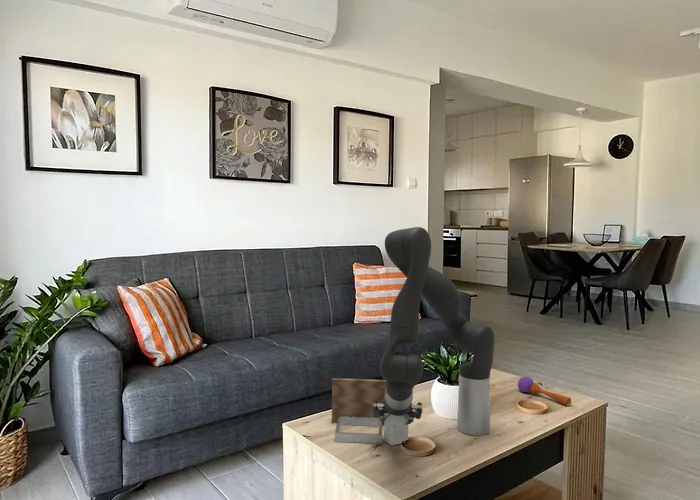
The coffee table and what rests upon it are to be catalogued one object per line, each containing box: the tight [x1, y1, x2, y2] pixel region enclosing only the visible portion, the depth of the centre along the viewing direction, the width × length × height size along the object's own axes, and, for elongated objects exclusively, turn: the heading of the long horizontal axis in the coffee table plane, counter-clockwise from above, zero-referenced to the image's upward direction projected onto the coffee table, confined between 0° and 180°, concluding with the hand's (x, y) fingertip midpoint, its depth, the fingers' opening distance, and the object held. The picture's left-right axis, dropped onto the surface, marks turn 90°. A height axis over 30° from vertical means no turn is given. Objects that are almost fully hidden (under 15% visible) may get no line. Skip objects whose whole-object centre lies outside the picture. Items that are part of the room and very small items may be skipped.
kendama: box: [517, 376, 572, 406], centre depth 183 cm, size 6×6×20 cm
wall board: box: [331, 377, 386, 426], centre depth 160 cm, size 18×4×14 cm, turn 87°
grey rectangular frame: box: [334, 416, 383, 444], centre depth 151 cm, size 14×13×2 cm
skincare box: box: [383, 415, 409, 446], centre depth 146 cm, size 6×4×12 cm
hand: (396, 420), depth 148 cm, fingers closed on skincare box, 7 cm apart
